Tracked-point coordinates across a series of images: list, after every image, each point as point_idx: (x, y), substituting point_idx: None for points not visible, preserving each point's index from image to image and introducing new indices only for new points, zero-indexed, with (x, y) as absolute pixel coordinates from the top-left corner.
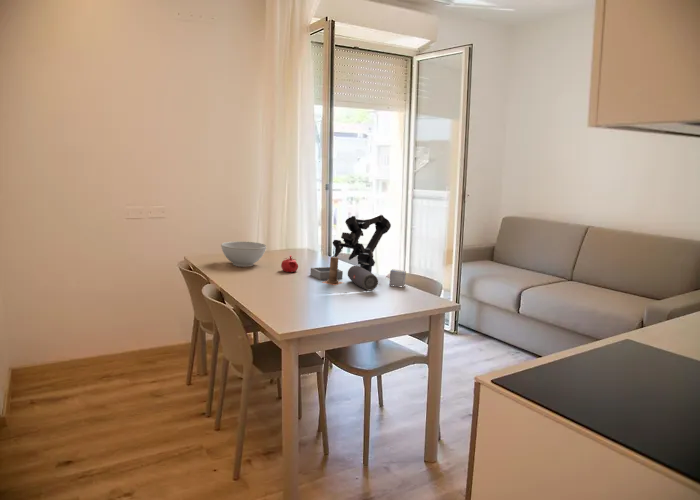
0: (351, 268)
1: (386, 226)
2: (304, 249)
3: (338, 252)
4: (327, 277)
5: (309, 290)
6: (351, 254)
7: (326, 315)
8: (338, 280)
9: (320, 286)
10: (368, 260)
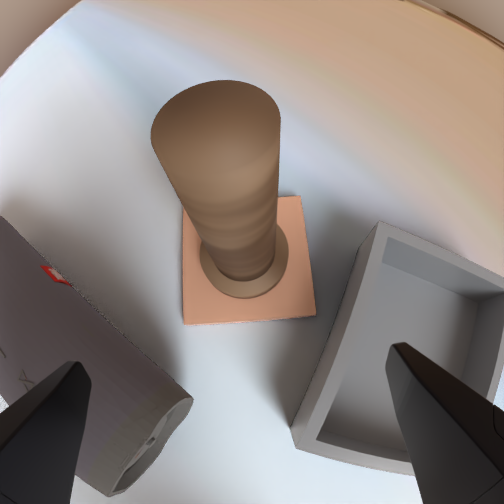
0: (113, 383)
1: None
2: None
3: (435, 478)
4: (346, 300)
5: (232, 76)
6: (15, 412)
7: (71, 29)
8: (211, 281)
9: None
10: None
